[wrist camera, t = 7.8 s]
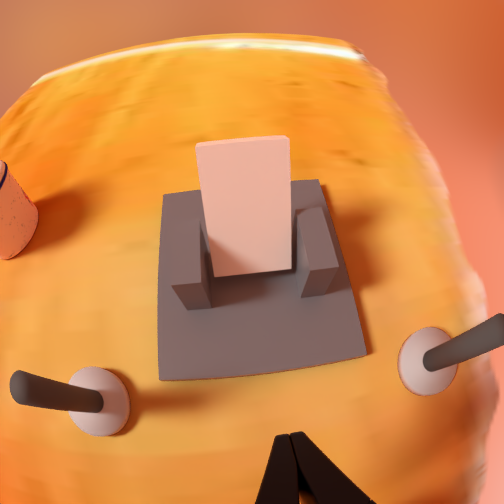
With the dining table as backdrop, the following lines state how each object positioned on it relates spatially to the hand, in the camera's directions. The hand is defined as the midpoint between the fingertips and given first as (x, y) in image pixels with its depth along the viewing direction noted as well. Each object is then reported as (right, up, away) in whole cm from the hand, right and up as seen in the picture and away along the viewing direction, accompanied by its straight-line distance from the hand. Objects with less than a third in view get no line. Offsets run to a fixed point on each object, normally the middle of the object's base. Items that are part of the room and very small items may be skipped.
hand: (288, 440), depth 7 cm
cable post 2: (+14, -4, +13) cm, 20 cm away
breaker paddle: (-1, +4, +16) cm, 17 cm away
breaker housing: (-1, +3, +18) cm, 18 cm away
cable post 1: (-14, -7, +12) cm, 20 cm away
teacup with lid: (-33, +8, +21) cm, 40 cm away
